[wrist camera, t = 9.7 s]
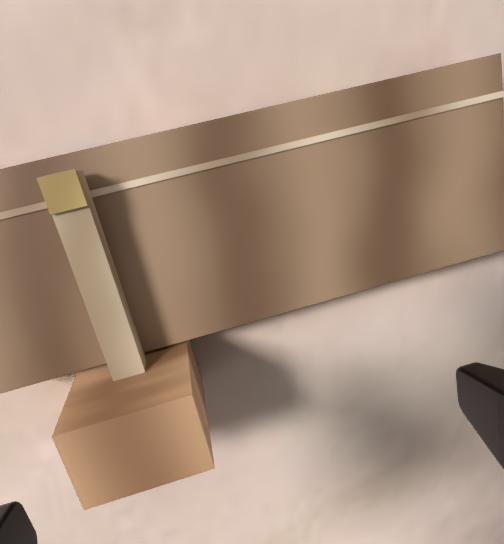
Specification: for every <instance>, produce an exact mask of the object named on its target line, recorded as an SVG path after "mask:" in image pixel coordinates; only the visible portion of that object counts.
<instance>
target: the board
mask: <svg viewBox="0 0 504 544" xmlns="http://www.w3.org/2000/svg"><path fill="white" fill-rule="evenodd" d="M503 97H504V91H503V88H502V65H501V53H500V54H495V55H491V56H487V57H482V58H478V59H474V60H469V61H465V62H461V63H456V64H452V65H448V66H444V67H439V68H435V69H431V70H426V71H422V72H418V73H413V74H409V75H405V76H400V77H396V78H392V79H387V80H383V81H379V82H375V83H370V84H366V85H362V86H357V87H353V88H349V89H344V90H340V91H336V92H331V93H327V94H323V95H318V96H314V97H310V98H306V99H301V100H297V101H293V102H288V103H284V104H280V105H275V106H271V107H267V108H262V109H258V110H254V111H249V112H245V113H241V114H236V115H232V116H228V117H224V118H219V119H215V120H211V121H206V122H202V123H198V124H193V125H189V126H185V127H180V128H176V129H172V130H167V131H163V132H159V133H155V134H150V135H146V136H142V137H137V138H133V139H129V140H124V141H120V142H116V143H111V144H107V145H103V146H98V147H94V148H90V149H86V150H81V151H77V152H73V153H68V154H64V155H60V156H55V157H51V158H47V159H42V160H38V161H34V162H29V163H25V164H21V165H17V166H12V167H8V168H4V169H0V393H4V392H8V391H11V390H15V389H18V388H22V387H25V386H29V385H32V384H36V383H39V382H43V381H46V380H50V379H53V378H57V377H60V376H64V375H67V374H71V373H74V372H78V371H81V370H85V369H88V368H92V367H95V366H99V365H102V364H106V360H105V358H104V355H103V352H102V349H101V347H100V344H99V341H98V339H97V336H96V333H95V330H94V328H93V325H92V322H91V320H90V317H89V314H88V311H87V309H86V306H85V303H84V301H83V298H82V295H81V292H80V290H79V287H78V284H77V282H76V279H75V276H74V273H73V271H72V268H71V265H70V263H69V260H68V257H67V254H66V252H65V249H64V246H63V244H62V241H61V238H60V235H59V233H58V230H57V227H56V225H55V222H54V219H53V216H52V215H50V213H49V211H48V208H47V205H46V203H45V200H44V197H43V194H42V192H41V189H40V186H39V184H38V181H37V178H38V177H42V176H46V175H50V174H55V173H59V172H63V171H67V170H72V169H76V170H77V171H80V170H83V172H84V175H85V178H86V181H87V184H88V187H89V190H90V193H91V196H92V199H93V202H94V205H95V208H96V211H97V214H98V217H99V220H100V223H101V226H102V229H103V232H104V235H105V238H106V241H107V244H108V247H109V250H110V253H111V256H112V259H113V262H114V265H115V268H116V271H117V274H118V277H119V280H120V283H121V286H122V289H123V292H124V294H125V297H126V300H127V303H128V306H129V309H130V312H131V315H132V318H133V321H134V324H135V327H136V330H137V333H138V336H139V339H140V342H141V345H142V348H143V351H144V353H145V352H148V351H152V350H155V349H159V348H162V347H166V346H169V345H173V344H176V343H180V342H183V341H187V340H190V339H194V338H197V337H201V336H204V335H208V334H211V333H215V332H218V331H222V330H225V329H229V328H232V327H236V326H239V325H243V324H246V323H250V322H253V321H257V320H260V319H264V318H267V317H271V316H274V315H278V314H281V313H285V312H288V311H292V310H295V309H299V308H303V307H306V306H310V305H313V304H317V303H320V302H324V301H327V300H331V299H334V298H338V297H341V296H345V295H348V294H352V293H355V292H359V291H362V290H366V289H369V288H373V287H376V286H380V285H383V284H387V283H390V282H394V281H397V280H401V279H404V278H408V277H411V276H415V275H418V274H422V273H425V272H429V271H432V270H436V269H439V268H443V267H446V266H450V265H453V264H457V263H460V262H464V261H467V260H471V259H474V258H478V257H482V256H485V255H489V254H492V253H496V252H499V251H503V250H504V111H503Z"/></svg>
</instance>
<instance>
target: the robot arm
mask: <svg viewBox="0 0 504 544" xmlns="http://www.w3.org/2000/svg"><path fill="white" fill-rule="evenodd" d="M456 381H457V392H458V401H459V405H460V408H461V410H462V412H463V413H464V415H465V416H466V417H467V419H468V420H469V422H470V423H471V424H472V426H473V427H474V429H475V430H476V431H477V433H478V434H479V436H480V437H481V438H482V440H483V441H484V443H485V444H486V445H487V447H488V448H489V450H490V451H491V452H492V454H493V455H494V457H495V458H496V459H497V461H498V462H499V464H500V465H501V466H502V468H503V469H504V369H500V368H496V367H492V366H489V365H485V364H481V363H471V364H468V365H464V366H461V367H459V368H458V369H457V371H456ZM0 544H37V535H36V531H35V529H34V527H33V525H32V523H31V521H30V519H29V517H28V516H27V514H26V512H25V510H24V508H23V506H22V505H21V504H20V503H19V502H16V501H14V502H11V503H7V504H4V505H1V506H0Z"/></svg>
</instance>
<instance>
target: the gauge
mask: <svg viewBox="0 0 504 544" xmlns="http://www.w3.org/2000/svg"><path fill="white" fill-rule="evenodd" d="M37 181H38V184H39V186H40V189H41V192H42V194H43V197H44V200H45V203H46V205H47V208H48V211H49V213H50V215H52V216H53V219H54V222H55V225H56V227H57V230H58V233H59V235H60V238H61V241H62V244H63V246H64V249H65V252H66V254H67V257H68V260H69V263H70V265H71V268H72V271H73V273H74V276H75V279H76V282H77V284H78V287H79V290H80V292H81V295H82V298H83V301H84V303H85V306H86V309H87V311H88V314H89V317H90V320H91V322H92V325H93V328H94V330H95V333H96V336H97V339H98V341H99V344H100V347H101V349H102V352H103V355H104V358H105V360H106V364H102V365H99V366H95V367H92V368H88V369H85V370H81V371H78V372H77V374H76V376H75V379H74V382H73V384H72V387H71V389H70V392H69V394H68V397H67V400H66V402H65V405H64V407H63V410H62V412H61V415H60V417H59V420H58V423H57V425H56V428H55V430H54V433H53V435H52V438H53V441H54V443H55V445H56V448H57V450H58V452H59V454H60V457H61V459H62V461H63V464H64V466H65V468H66V470H67V473H68V475H69V477H70V480H71V482H72V484H73V486H74V489H75V491H76V493H77V496H78V498H79V500H80V502H81V505H82V507H83V509H84V510H86V509H89V508H92V507H95V506H99V505H102V504H105V503H108V502H111V501H114V500H117V499H120V498H124V497H127V496H130V495H133V494H136V493H139V492H142V491H145V490H149V489H152V488H155V487H158V486H161V485H164V484H167V483H171V482H174V481H177V480H180V479H183V478H186V477H189V476H192V475H196V474H199V473H202V472H205V471H208V470H211V469H214V468H215V467H214V460H213V453H212V446H211V440H210V433H209V426H208V420H207V413H206V406H205V399H204V393H203V386H202V380H201V377H200V373H199V370H198V367H197V363H196V360H195V356H194V353H193V350H192V346H191V343H190V340H187V341H183V342H180V343H176V344H173V345H169V346H166V347H162V348H159V349H155V350H152V351H148V352H145V353H144V351H143V348H142V345H141V342H140V339H139V336H138V333H137V330H136V327H135V324H134V321H133V318H132V315H131V312H130V309H129V306H128V303H127V300H126V297H125V294H124V292H123V289H122V286H121V283H120V280H119V277H118V274H117V271H116V268H115V265H114V262H113V259H112V256H111V253H110V250H109V247H108V244H107V241H106V238H105V235H104V232H103V229H102V226H101V223H100V220H99V217H98V214H97V211H96V208H95V205H94V202H93V199H92V196H91V193H90V190H89V187H88V184H87V181H86V178H85V175H84V172H83V170H80V171H77V170H76V169H72V170H67V171H63V172H59V173H55V174H50V175H46V176H42V177H38V178H37Z"/></svg>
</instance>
